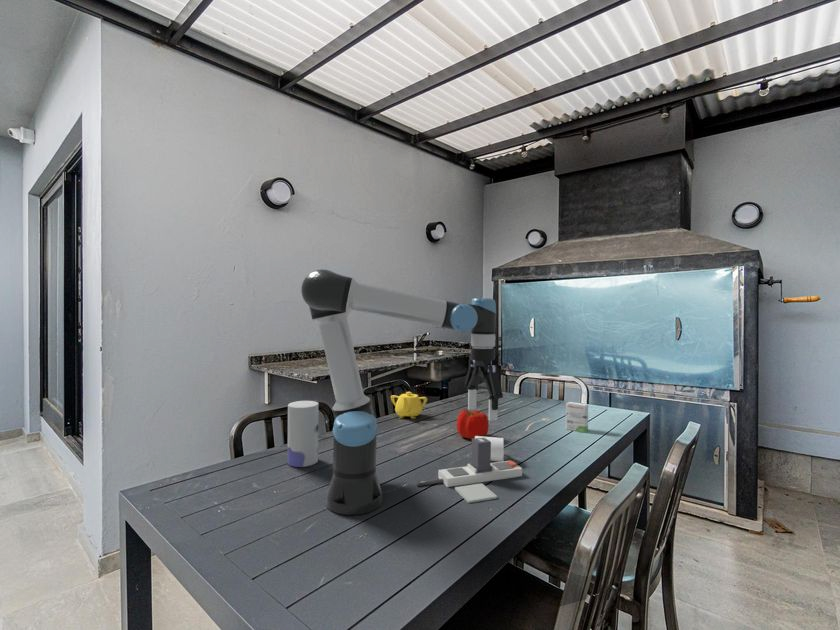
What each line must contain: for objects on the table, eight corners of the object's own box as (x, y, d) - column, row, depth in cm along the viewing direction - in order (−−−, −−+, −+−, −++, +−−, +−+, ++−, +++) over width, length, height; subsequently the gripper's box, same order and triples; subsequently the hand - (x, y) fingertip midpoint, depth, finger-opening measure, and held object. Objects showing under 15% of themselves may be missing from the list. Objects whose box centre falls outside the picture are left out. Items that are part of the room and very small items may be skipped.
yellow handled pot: (387, 415, 203) (387, 391, 203) (411, 411, 212) (411, 388, 212) (403, 422, 192) (404, 396, 192) (428, 417, 201) (428, 393, 201)
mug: (503, 465, 142) (503, 442, 142) (473, 462, 144) (474, 440, 144) (503, 453, 154) (503, 431, 154) (476, 451, 156) (476, 429, 156)
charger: (477, 472, 129) (478, 443, 129) (471, 466, 133) (471, 438, 133) (490, 470, 131) (490, 441, 131) (483, 465, 135) (484, 437, 135)
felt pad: (468, 503, 115) (468, 500, 115) (454, 489, 123) (454, 487, 123) (497, 498, 118) (497, 496, 118) (481, 485, 126) (481, 483, 126)
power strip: (420, 491, 121) (420, 478, 121) (412, 481, 128) (412, 469, 128) (522, 476, 133) (522, 464, 133) (510, 467, 140) (510, 457, 140)
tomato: (495, 438, 170) (495, 413, 170) (470, 444, 163) (471, 417, 163) (473, 430, 182) (473, 406, 181) (449, 435, 174) (449, 410, 174)
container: (323, 461, 143) (324, 403, 142) (297, 470, 135) (298, 408, 135) (307, 454, 150) (308, 398, 149) (281, 461, 142) (282, 403, 142)
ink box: (588, 430, 184) (588, 403, 184) (585, 433, 180) (586, 405, 180) (568, 426, 189) (568, 401, 189) (565, 429, 185) (565, 403, 185)
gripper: (515, 351, 121) (514, 424, 121) (475, 343, 144) (474, 404, 145) (492, 352, 118) (491, 426, 119) (455, 343, 142) (454, 406, 142)
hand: (482, 414), depth 132 cm, fingers open, 13 cm apart
